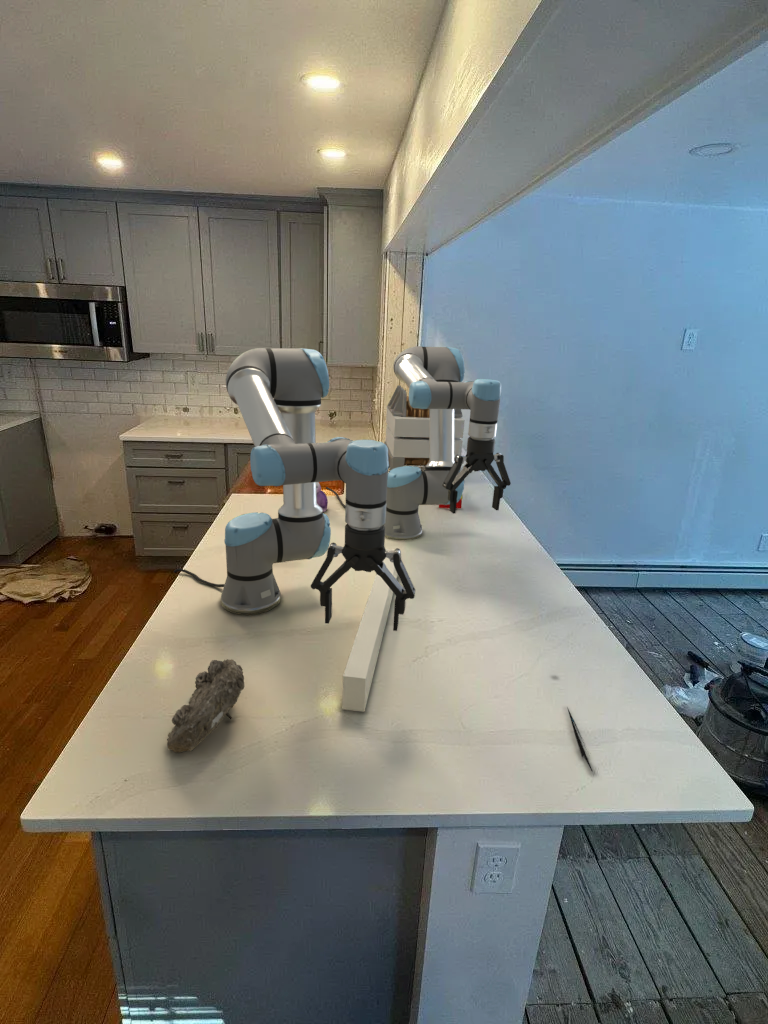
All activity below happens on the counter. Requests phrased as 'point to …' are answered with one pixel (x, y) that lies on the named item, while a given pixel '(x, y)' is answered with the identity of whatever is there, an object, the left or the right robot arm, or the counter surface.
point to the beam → (367, 644)
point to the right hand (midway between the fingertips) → (474, 510)
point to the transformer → (413, 432)
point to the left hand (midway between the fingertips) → (361, 623)
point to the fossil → (206, 705)
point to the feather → (579, 740)
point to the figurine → (321, 497)
